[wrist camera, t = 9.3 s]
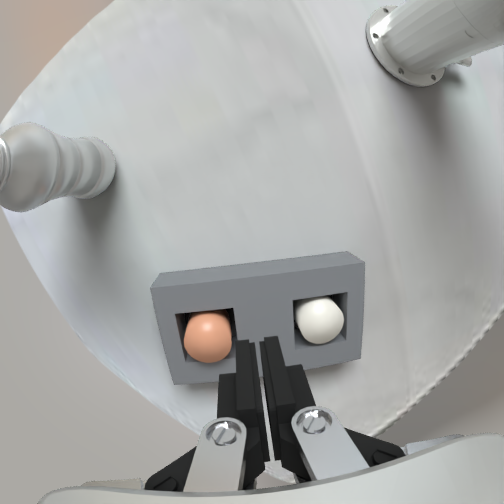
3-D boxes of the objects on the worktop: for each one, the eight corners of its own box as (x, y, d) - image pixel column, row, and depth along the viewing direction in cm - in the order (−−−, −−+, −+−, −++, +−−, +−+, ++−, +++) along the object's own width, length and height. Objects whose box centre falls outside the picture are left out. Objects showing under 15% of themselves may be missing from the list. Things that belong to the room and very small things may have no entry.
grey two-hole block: (347, 251, 36) (364, 262, 31) (346, 339, 38) (360, 358, 34) (159, 273, 34) (150, 287, 29) (178, 361, 37) (173, 384, 32)
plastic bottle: (122, 137, 30) (15, 98, 11) (120, 196, 32) (10, 222, 13) (73, 141, 30) (-49, 121, 10) (72, 198, 31) (-51, 225, 12)
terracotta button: (227, 300, 34) (228, 319, 29) (232, 337, 35) (234, 360, 31) (185, 304, 34) (179, 324, 29) (192, 341, 35) (188, 364, 30)
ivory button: (329, 284, 36) (344, 299, 31) (329, 320, 37) (343, 339, 32) (289, 289, 35) (299, 306, 31) (291, 326, 37) (301, 347, 32)
